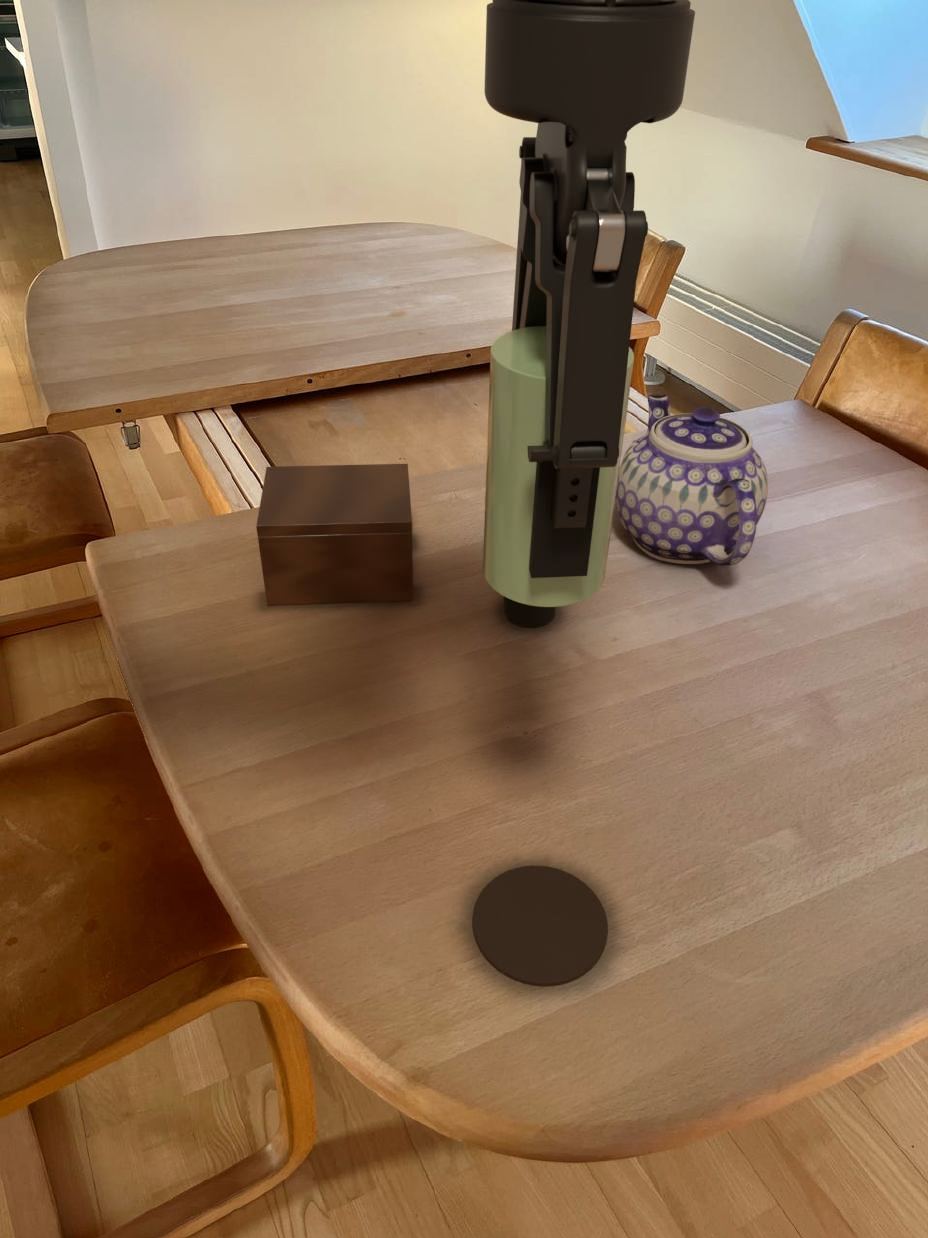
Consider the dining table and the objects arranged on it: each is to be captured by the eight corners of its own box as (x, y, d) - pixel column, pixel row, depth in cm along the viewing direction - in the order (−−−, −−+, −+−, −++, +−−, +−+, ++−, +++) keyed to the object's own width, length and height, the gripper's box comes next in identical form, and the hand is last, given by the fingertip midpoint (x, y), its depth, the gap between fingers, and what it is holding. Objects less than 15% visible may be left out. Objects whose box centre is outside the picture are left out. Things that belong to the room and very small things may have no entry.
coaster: (479, 991, 59) (479, 987, 58) (466, 872, 66) (467, 868, 65) (620, 981, 59) (621, 978, 59) (593, 865, 66) (593, 861, 66)
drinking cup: (491, 637, 86) (501, 441, 74) (487, 588, 92) (496, 400, 80) (573, 637, 87) (597, 442, 74) (564, 589, 93) (585, 400, 80)
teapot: (798, 603, 92) (839, 466, 82) (648, 615, 89) (673, 477, 80) (706, 477, 111) (731, 355, 102) (581, 484, 109) (595, 361, 100)
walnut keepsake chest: (267, 605, 90) (256, 525, 84) (275, 542, 98) (266, 466, 93) (413, 600, 91) (412, 521, 85) (409, 538, 99) (407, 463, 94)
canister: (489, 610, 46) (500, 381, 39) (476, 539, 51) (483, 325, 44) (616, 604, 47) (650, 378, 40) (591, 535, 52) (616, 323, 45)
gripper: (792, 18, 26) (667, 650, 40) (631, -29, 41) (581, 442, 56) (527, 15, 26) (495, 658, 40) (462, -32, 41) (456, 445, 55)
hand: (545, 531), depth 48 cm, fingers closed on canister, 6 cm apart
